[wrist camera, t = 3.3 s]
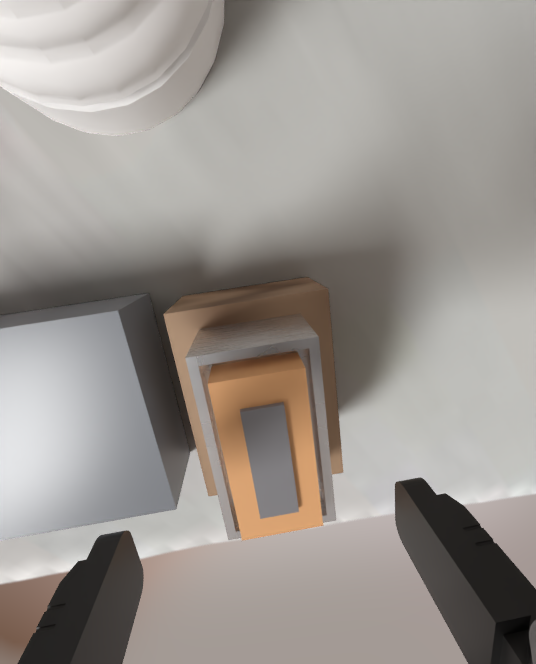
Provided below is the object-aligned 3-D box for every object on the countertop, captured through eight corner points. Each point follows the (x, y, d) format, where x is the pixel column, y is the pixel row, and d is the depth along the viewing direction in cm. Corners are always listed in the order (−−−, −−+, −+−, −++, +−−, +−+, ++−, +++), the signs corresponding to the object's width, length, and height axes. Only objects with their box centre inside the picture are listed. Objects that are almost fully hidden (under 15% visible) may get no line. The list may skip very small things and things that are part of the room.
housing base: (300, 313, 15) (318, 336, 11) (316, 462, 18) (336, 520, 14) (199, 329, 15) (185, 358, 11) (231, 478, 18) (228, 540, 14)
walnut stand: (306, 276, 20) (327, 288, 15) (321, 423, 23) (343, 472, 18) (182, 296, 19) (163, 314, 14) (215, 442, 22) (208, 496, 18)
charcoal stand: (148, 292, 19) (118, 310, 14) (190, 452, 23) (176, 509, 18) (-49, 322, 19) (-150, 351, 14) (25, 480, 22) (-35, 547, 17)
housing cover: (297, 352, 12) (306, 370, 11) (314, 495, 15) (324, 529, 13) (211, 365, 12) (207, 386, 11) (241, 508, 14) (242, 545, 13)
